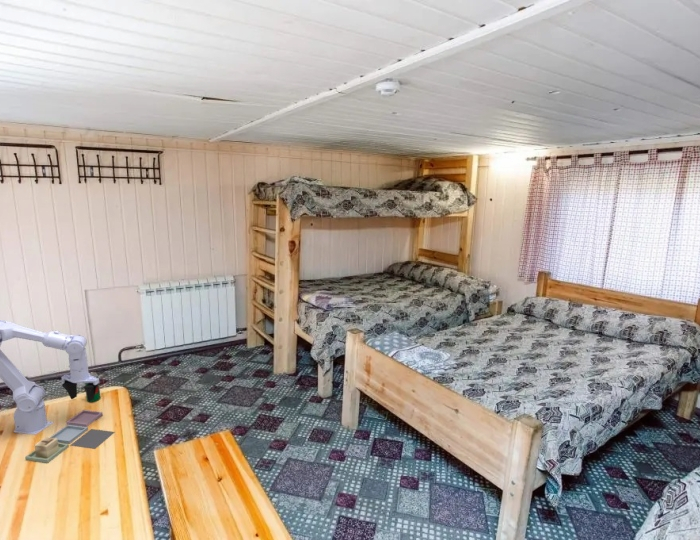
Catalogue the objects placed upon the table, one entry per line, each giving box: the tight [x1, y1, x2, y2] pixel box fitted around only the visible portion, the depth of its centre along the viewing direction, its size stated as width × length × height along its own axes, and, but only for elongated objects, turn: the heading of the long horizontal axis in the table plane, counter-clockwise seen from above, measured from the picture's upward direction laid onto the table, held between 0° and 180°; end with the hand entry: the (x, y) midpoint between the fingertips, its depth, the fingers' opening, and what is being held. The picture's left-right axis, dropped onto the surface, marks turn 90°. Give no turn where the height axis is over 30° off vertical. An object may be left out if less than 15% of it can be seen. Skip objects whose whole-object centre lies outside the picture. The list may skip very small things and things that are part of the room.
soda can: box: [84, 371, 101, 403], centre depth 171 cm, size 5×5×12 cm
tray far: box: [66, 409, 104, 427], centre depth 157 cm, size 8×8×2 cm
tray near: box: [24, 443, 70, 464], centre depth 138 cm, size 8×8×2 cm
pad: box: [69, 428, 116, 450], centre depth 146 cm, size 10×10×1 cm
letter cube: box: [33, 436, 59, 458], centre depth 137 cm, size 4×4×5 cm
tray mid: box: [49, 424, 89, 445], centre depth 147 cm, size 8×8×2 cm
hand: (82, 398), depth 155 cm, fingers open, 7 cm apart
